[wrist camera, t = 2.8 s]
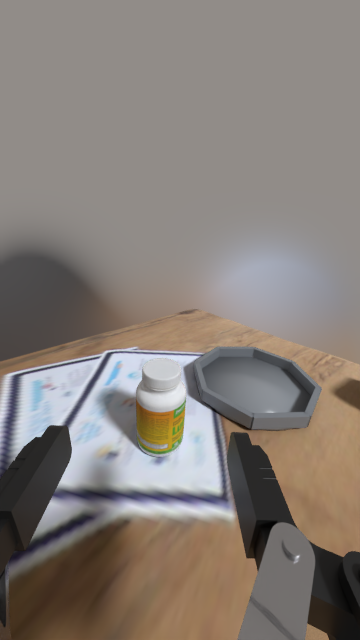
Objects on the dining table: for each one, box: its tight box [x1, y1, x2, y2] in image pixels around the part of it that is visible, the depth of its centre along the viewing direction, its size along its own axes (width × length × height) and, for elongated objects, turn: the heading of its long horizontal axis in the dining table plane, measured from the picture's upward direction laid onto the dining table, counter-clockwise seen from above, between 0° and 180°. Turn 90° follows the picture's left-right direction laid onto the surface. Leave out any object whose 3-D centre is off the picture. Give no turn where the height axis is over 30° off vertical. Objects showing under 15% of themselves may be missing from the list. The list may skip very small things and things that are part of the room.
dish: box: [194, 347, 322, 431], centre depth 36 cm, size 18×18×2 cm
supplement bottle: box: [136, 358, 186, 457], centre depth 25 cm, size 5×5×10 cm
